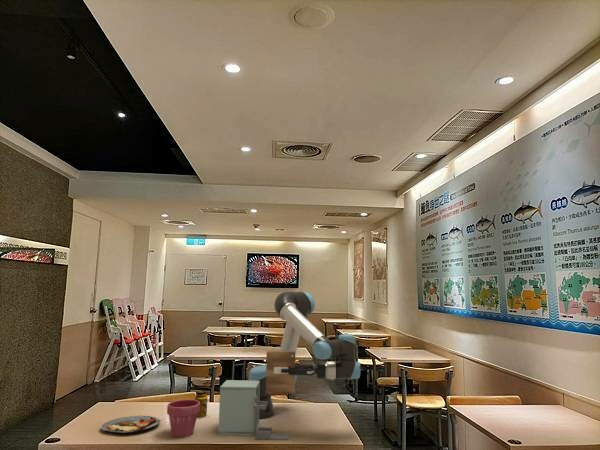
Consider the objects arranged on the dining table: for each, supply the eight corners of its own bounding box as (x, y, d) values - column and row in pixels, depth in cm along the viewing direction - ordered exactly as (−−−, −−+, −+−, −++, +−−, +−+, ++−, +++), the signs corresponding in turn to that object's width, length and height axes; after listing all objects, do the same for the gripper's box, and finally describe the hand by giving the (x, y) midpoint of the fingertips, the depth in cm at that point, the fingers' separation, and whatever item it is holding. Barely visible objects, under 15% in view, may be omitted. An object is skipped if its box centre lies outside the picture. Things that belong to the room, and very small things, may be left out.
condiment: (209, 416, 209) (210, 391, 211) (192, 419, 204) (194, 393, 206) (204, 413, 215) (205, 388, 217) (188, 416, 210) (189, 390, 212)
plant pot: (162, 431, 187) (164, 401, 189) (193, 426, 193) (195, 397, 195) (169, 441, 174) (171, 409, 176) (202, 436, 181) (204, 404, 183)
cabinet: (225, 424, 197) (226, 380, 200) (290, 425, 196) (291, 381, 199) (215, 438, 178) (217, 389, 181) (287, 440, 177) (288, 390, 180)
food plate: (169, 422, 199) (170, 414, 199) (136, 439, 177) (136, 430, 177) (127, 418, 206) (127, 411, 207) (89, 434, 185) (90, 425, 185)
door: (266, 391, 190) (267, 350, 192) (295, 392, 189) (295, 351, 192) (265, 393, 185) (266, 352, 188) (294, 394, 185) (295, 352, 188)
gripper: (326, 382, 181) (272, 382, 181) (324, 375, 197) (275, 374, 197) (326, 364, 182) (272, 364, 182) (324, 358, 198) (275, 358, 198)
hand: (274, 369), depth 190 cm, fingers closed on door, 3 cm apart
